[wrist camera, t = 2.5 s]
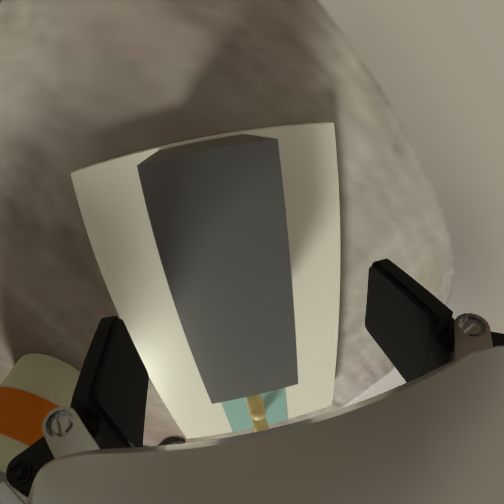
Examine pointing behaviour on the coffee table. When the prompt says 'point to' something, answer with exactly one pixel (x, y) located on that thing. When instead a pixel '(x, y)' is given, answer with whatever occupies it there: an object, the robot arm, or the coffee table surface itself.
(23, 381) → the reusable coffee cup
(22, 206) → the coffee table surface
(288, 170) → the board
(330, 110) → the coffee table surface
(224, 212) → the block
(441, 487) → the robot arm
